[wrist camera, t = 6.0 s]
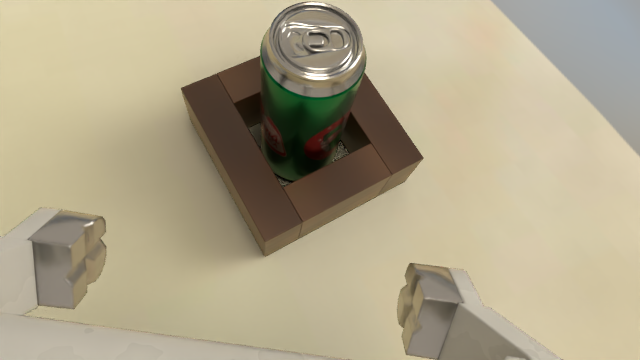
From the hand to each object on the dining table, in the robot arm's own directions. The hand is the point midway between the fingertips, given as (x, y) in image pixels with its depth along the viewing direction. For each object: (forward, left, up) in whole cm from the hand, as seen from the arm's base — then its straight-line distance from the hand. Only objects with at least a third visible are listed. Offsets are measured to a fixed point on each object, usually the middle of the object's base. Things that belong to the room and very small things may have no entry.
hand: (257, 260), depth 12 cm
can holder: (+7, +8, -16) cm, 20 cm away
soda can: (+7, +8, -17) cm, 20 cm away
